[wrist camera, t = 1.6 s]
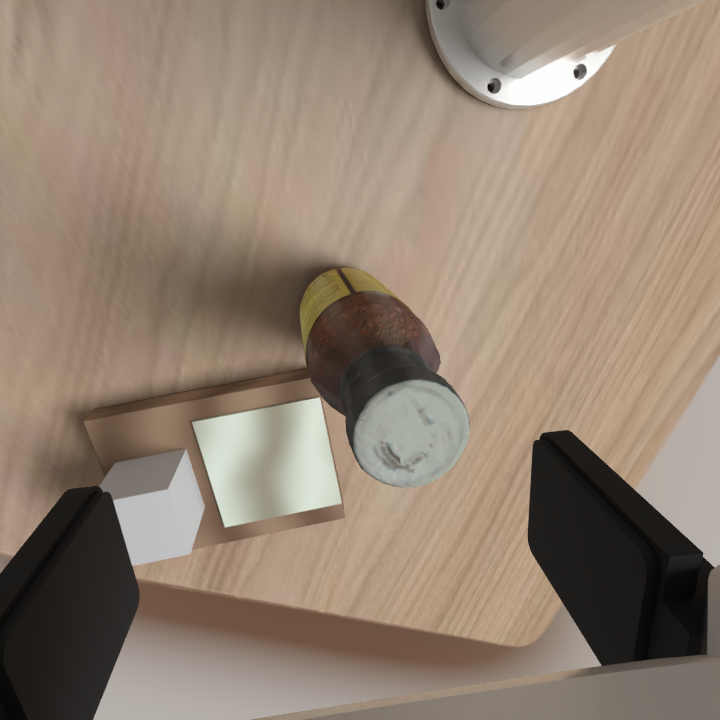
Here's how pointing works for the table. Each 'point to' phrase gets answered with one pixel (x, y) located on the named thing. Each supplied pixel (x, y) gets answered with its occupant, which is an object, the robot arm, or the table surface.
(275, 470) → the base board
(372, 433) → the sauce bottle
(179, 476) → the grey block
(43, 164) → the table surface
